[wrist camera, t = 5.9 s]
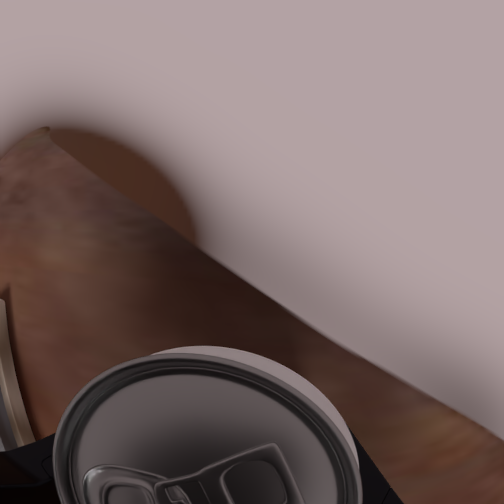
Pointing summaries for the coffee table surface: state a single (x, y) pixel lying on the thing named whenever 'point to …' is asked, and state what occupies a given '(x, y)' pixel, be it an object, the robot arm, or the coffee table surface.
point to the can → (203, 435)
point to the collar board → (10, 396)
